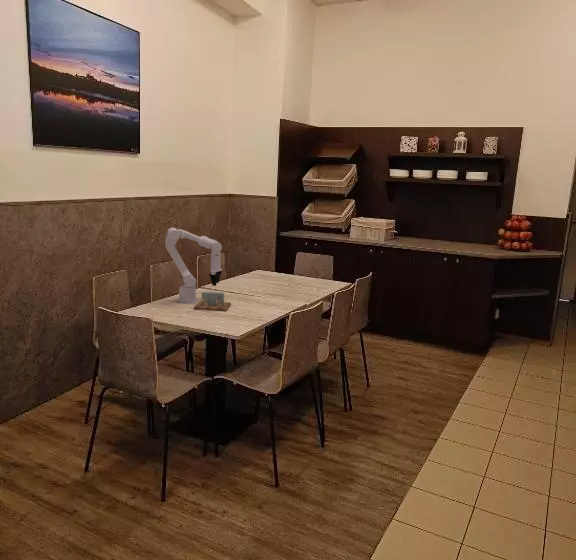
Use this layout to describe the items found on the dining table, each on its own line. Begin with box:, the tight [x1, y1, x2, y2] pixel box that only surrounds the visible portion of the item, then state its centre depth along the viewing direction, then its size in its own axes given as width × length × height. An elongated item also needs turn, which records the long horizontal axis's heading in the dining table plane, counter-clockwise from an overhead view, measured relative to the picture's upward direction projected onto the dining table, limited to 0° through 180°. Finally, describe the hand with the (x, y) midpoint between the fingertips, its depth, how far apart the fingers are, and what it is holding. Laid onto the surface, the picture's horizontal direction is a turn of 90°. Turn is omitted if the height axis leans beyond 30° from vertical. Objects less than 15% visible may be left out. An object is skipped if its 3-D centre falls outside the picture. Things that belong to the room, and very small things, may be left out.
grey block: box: [201, 290, 225, 306], centre depth 282 cm, size 12×4×7 cm, turn 86°
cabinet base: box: [193, 298, 232, 312], centre depth 283 cm, size 18×14×5 cm
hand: (215, 284), depth 298 cm, fingers open, 7 cm apart
